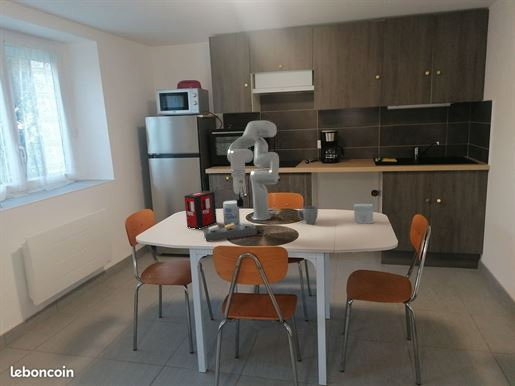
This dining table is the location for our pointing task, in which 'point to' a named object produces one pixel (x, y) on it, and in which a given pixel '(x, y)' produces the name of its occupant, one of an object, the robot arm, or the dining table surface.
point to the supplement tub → (231, 213)
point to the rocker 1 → (213, 228)
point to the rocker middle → (229, 225)
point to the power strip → (231, 232)
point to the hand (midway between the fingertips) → (240, 206)
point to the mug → (309, 214)
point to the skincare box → (363, 213)
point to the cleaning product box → (200, 209)
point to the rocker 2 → (245, 224)
